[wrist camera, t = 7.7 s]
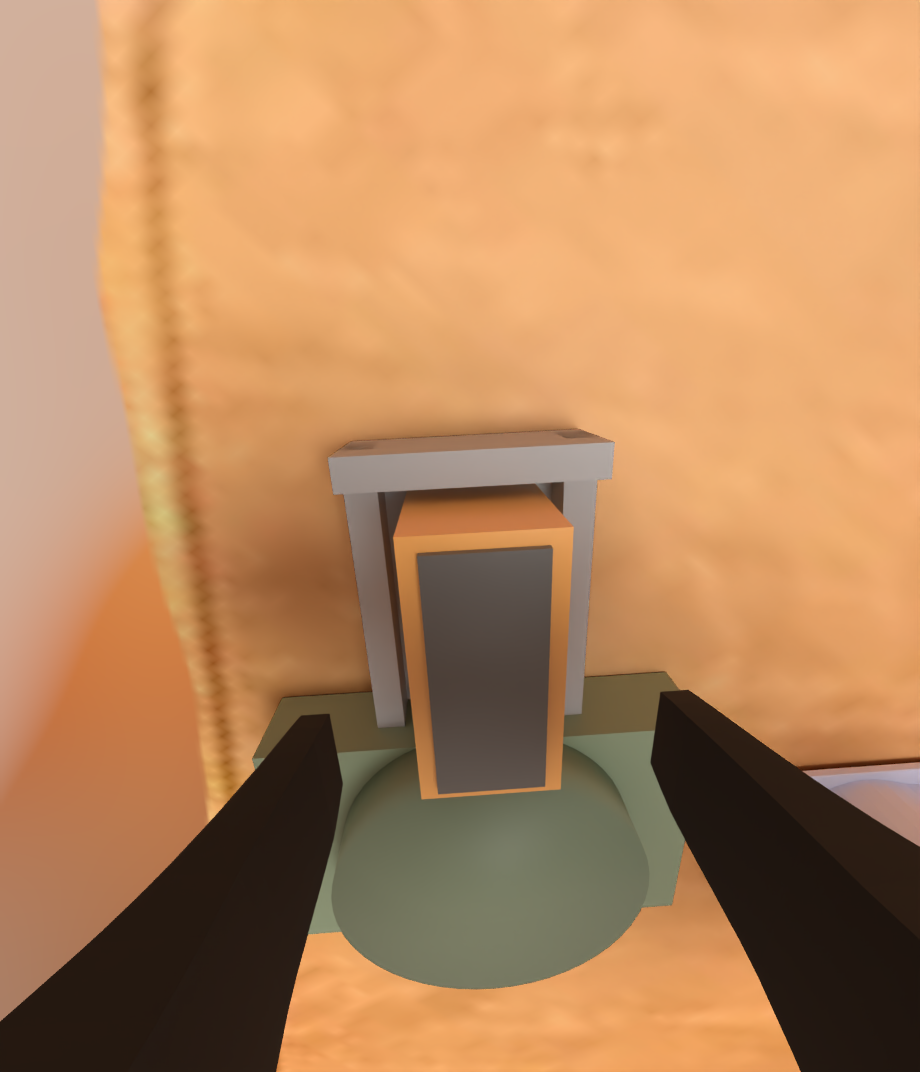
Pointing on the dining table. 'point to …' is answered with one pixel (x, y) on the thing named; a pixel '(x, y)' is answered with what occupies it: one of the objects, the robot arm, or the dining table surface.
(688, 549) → the dining table surface
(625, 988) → the dining table surface
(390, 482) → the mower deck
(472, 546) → the orange-framed grey panel
